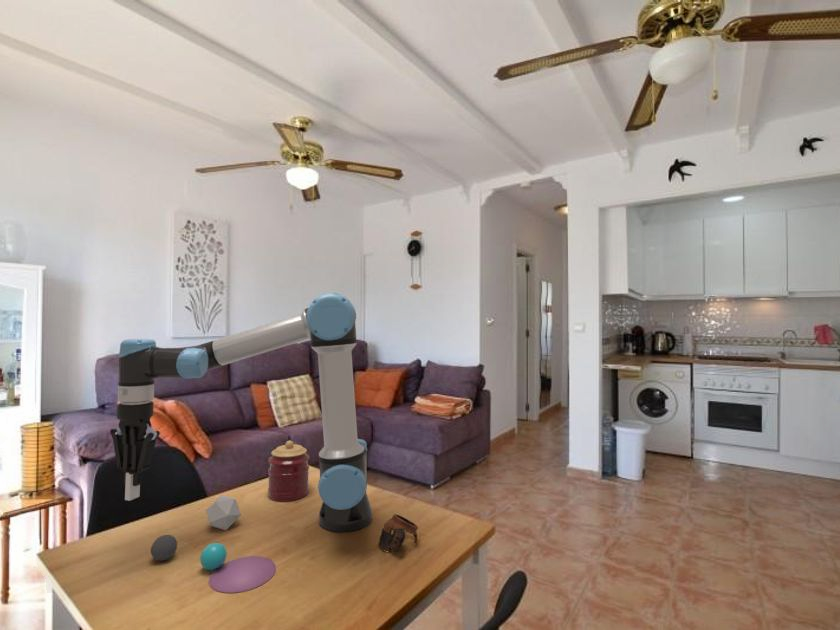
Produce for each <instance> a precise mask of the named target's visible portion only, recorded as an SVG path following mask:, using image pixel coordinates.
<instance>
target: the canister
mask: <svg viewBox="0 0 840 630" xmlns="http://www.w3.org/2000/svg"><path fill="white" fill-rule="evenodd" d="M307 452H308V450H307V448H306V447H303V446H302V445H301V444H295V443H294V442H293V440H287V441H285V444H284V445H279V446H277V447H276V448H275V449H273V450H272V451H271V453H270V454H271V455H272V456H270V457H269V458H268V463H269V468H268V470H267V472H268V488H267V494H268V497H269V498H270V499H271V500H273V501H277V502H291V501H296V500H300V499H301V498H305V497H306V496H307V495H308V493H309V489H310V485H309V469H310V466H309V464H308V463H309V462H308V461H309V459H310V456H309V455H308V454H307Z"/></svg>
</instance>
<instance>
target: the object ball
mask: <svg viewBox="0 0 840 630" xmlns="http://www.w3.org/2000/svg"><path fill="white" fill-rule="evenodd" d="M227 553H228V552H227V549H226V547H225V546H224V545H223V544H222V543H219V542H213V543H212V542H211V543H210V544H208V545H207V546H205V548H204V549H203V550H202V551H201V554H200V558H199V559H200V565H201V566H202V568H204V569H205V570H207V571H214V570H215V569H217V568H219V567H220V566H221V565H223V564H224V563H225V561H226V560H227V559H226V558H227Z"/></svg>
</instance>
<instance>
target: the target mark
mask: <svg viewBox="0 0 840 630" xmlns="http://www.w3.org/2000/svg"><path fill="white" fill-rule="evenodd" d="M276 569H277V566H276V563H275V562H274V561H273V560H272V559H270V558H268V557H265V556H257V555H255V556H254V555H253V556H252V555H251V556H249V555H248V556H243V557H239V558H235V559H232V560H228V561H227V562H224V563H223V564H222V565H221V566H220V567H219V568H217V569H215V570H212V573H210V576H209V577H208V584H209V587H210V588H211V589H212V590H214V591H216V592H219V593H221V594H222V593H223V594H236V593H237V594H238V593H244V592H248V591H251V590H254V589H256V588H258V587H261V586H263V585H264V584H266V583H267V582H268V581H270V580H271V579H272V578H273V576H275V573H276Z"/></svg>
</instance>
